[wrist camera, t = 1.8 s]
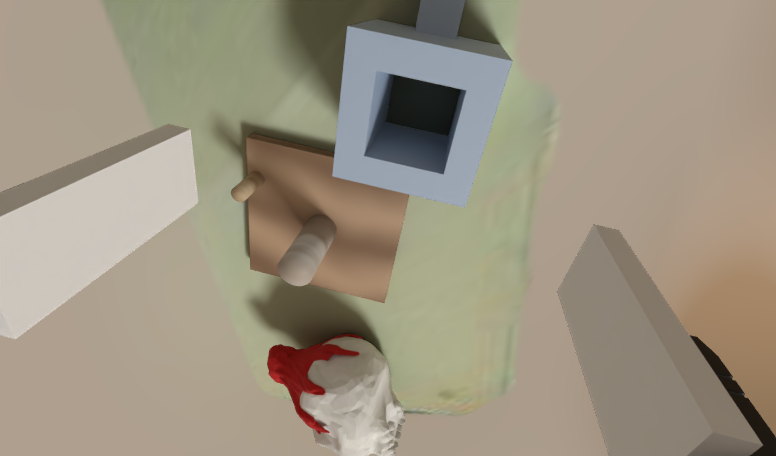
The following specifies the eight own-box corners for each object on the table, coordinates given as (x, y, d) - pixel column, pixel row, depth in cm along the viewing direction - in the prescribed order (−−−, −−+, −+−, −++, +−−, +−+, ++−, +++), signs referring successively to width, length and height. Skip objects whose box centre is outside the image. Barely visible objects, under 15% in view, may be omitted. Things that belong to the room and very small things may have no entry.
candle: (408, 407, 43) (290, 360, 46) (432, 343, 37) (294, 292, 40) (384, 491, 36) (244, 429, 38) (409, 427, 30) (241, 358, 32)
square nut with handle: (465, 163, 28) (465, 207, 22) (360, 139, 28) (332, 176, 22) (521, -22, 22) (541, -28, 16) (385, -49, 22) (356, -65, 16)
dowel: (250, 169, 30) (230, 185, 28) (264, 173, 30) (246, 189, 28) (250, 183, 31) (231, 199, 28) (264, 186, 31) (246, 203, 28)
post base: (252, 133, 30) (199, 167, 24) (414, 171, 29) (401, 215, 23) (255, 262, 37) (214, 313, 31) (386, 296, 36) (370, 354, 30)
